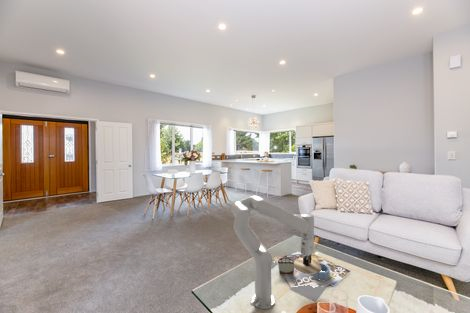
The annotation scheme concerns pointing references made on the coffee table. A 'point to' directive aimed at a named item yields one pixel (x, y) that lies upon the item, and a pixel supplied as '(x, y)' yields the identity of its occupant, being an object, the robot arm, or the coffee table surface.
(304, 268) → the lid
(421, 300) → the coffee table surface
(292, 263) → the food container
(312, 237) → the robot arm
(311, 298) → the mat
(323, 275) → the bowl
